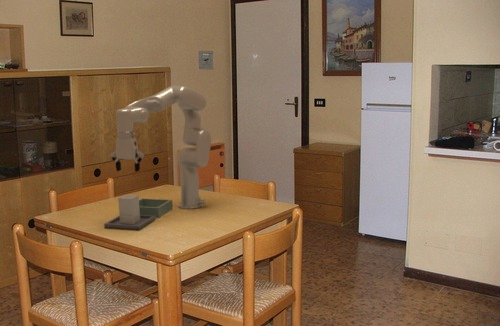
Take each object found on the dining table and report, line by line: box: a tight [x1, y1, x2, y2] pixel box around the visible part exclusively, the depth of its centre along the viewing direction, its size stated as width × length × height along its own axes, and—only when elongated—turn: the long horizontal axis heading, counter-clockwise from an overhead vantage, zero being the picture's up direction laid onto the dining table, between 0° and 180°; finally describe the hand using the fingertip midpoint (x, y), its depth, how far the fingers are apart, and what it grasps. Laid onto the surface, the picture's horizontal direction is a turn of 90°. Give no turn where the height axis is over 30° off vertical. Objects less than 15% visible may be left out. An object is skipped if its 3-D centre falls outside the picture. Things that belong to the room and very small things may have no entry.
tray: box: [103, 215, 157, 232], centre depth 277 cm, size 18×18×2 cm
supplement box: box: [117, 194, 140, 224], centre depth 276 cm, size 7×7×13 cm
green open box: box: [139, 197, 174, 219], centre depth 297 cm, size 17×17×5 cm
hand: (128, 170), depth 272 cm, fingers open, 9 cm apart
